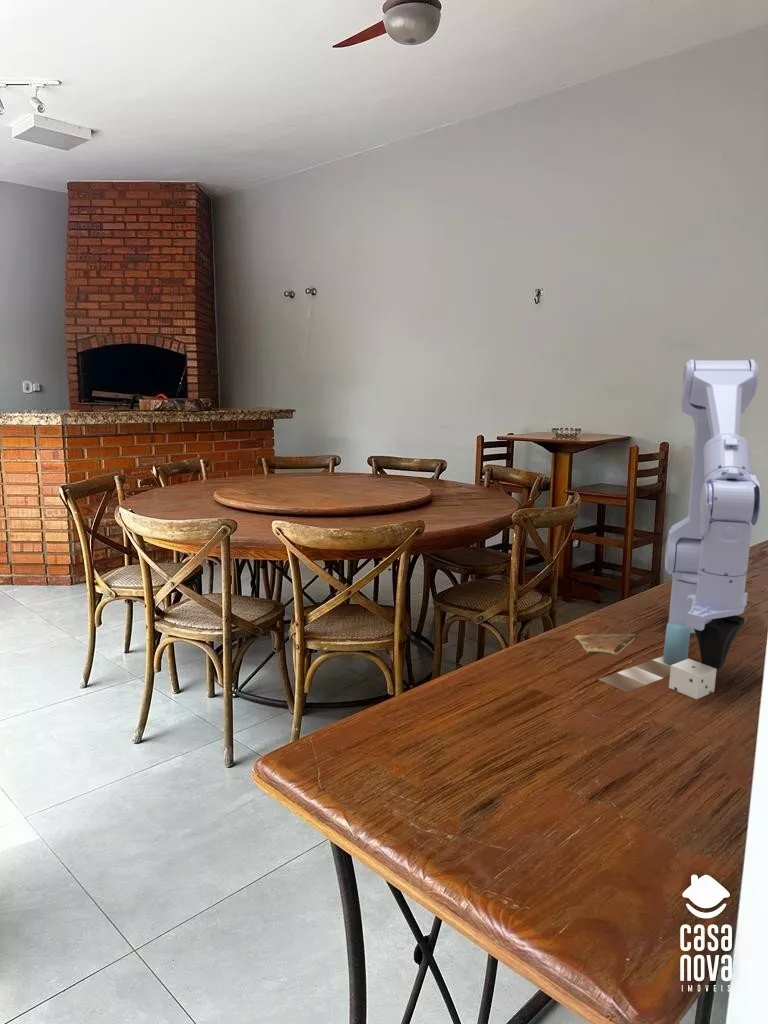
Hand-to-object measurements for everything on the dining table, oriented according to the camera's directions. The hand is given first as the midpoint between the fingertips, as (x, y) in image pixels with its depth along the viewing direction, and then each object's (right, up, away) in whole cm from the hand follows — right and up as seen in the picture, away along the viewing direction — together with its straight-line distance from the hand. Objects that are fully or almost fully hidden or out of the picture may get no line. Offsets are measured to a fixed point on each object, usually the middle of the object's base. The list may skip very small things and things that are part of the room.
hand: (711, 667), depth 93 cm
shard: (-10, -1, +15) cm, 18 cm away
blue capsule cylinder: (-2, -1, +7) cm, 7 cm away
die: (-4, -3, -2) cm, 5 cm away
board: (-7, -2, +4) cm, 8 cm away
